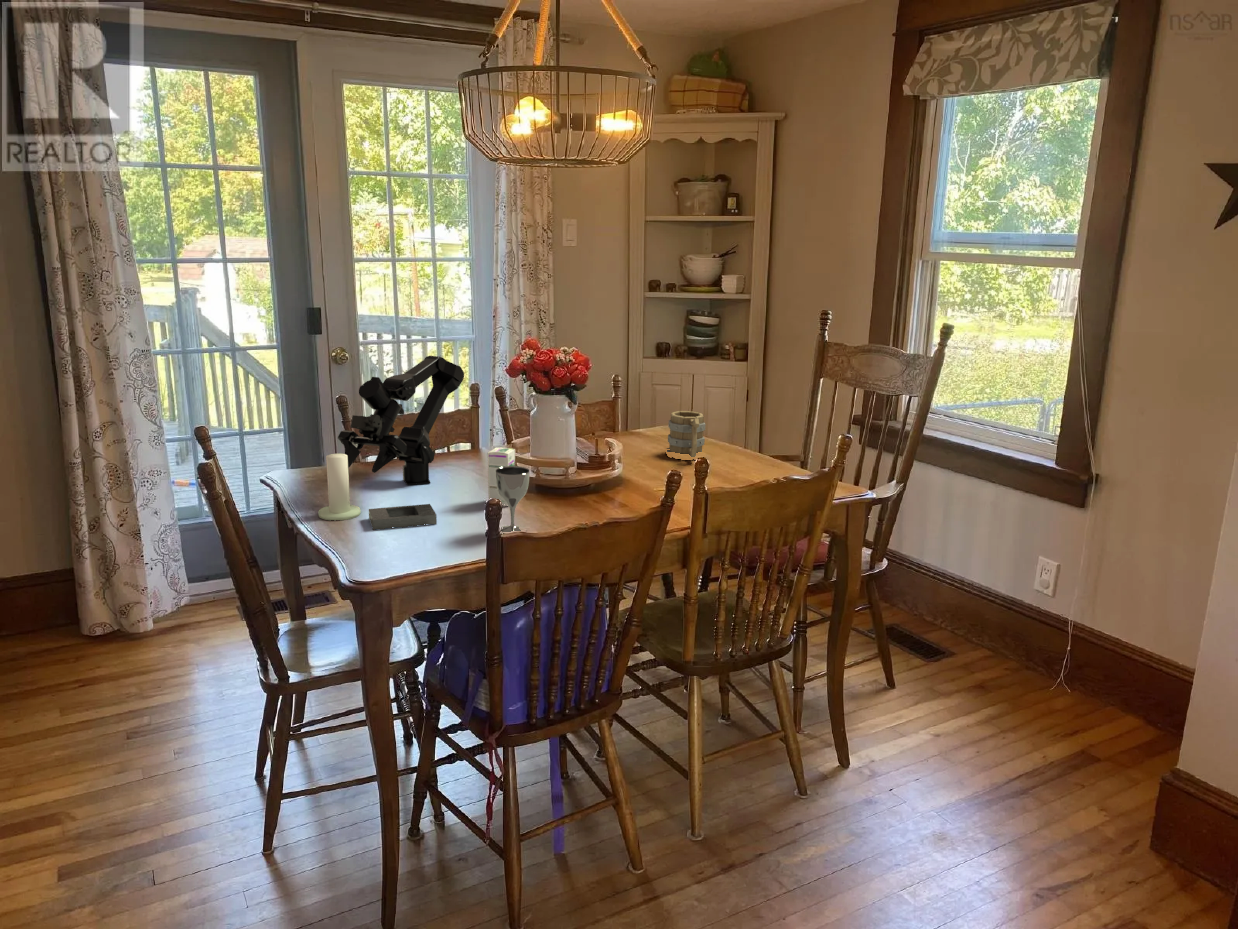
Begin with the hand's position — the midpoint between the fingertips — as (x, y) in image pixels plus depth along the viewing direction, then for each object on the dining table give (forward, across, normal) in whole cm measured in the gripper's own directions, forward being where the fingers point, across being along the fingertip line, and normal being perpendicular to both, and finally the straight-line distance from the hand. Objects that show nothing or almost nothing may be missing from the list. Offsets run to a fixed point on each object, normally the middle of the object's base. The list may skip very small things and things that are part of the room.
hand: (359, 470), depth 226 cm
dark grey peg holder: (+11, +17, +4) cm, 20 cm away
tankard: (-54, +54, +75) cm, 107 cm away
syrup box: (-6, +29, +23) cm, 37 cm away
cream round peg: (+12, 0, 0) cm, 12 cm away
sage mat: (+12, 0, 0) cm, 13 cm away
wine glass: (+6, +43, +10) cm, 45 cm away
